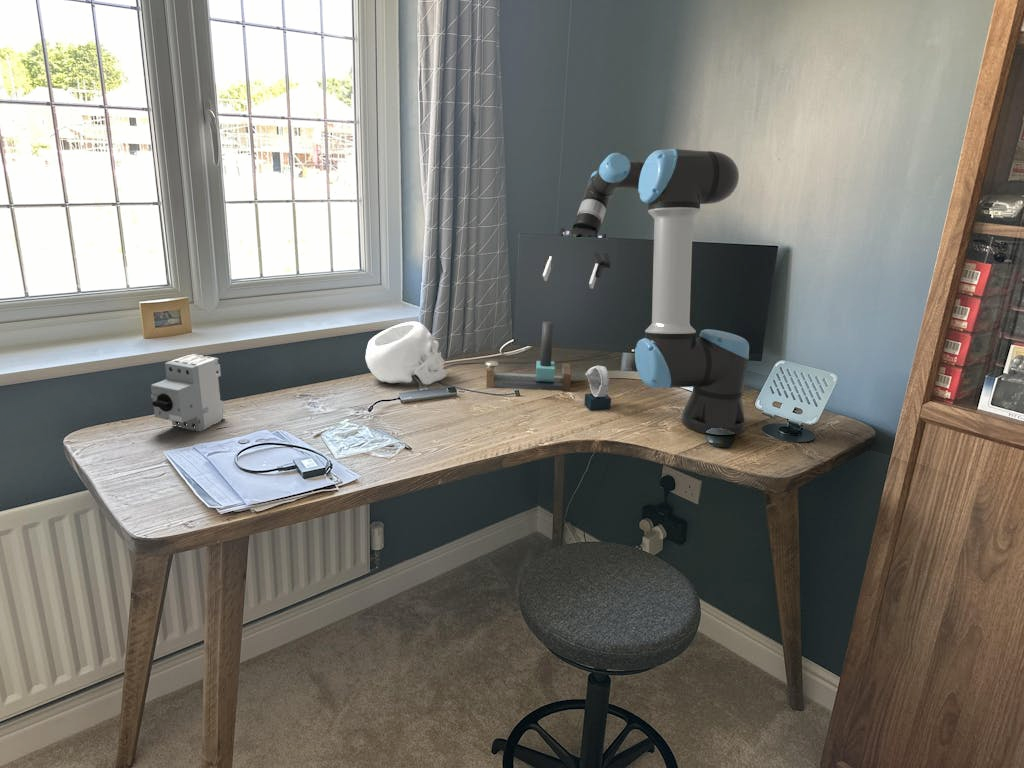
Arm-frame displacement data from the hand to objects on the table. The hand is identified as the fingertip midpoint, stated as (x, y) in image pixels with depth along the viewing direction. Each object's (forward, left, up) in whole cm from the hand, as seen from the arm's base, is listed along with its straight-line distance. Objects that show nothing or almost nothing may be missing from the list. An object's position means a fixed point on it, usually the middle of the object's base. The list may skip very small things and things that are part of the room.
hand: (567, 282), depth 195 cm
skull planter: (-10, +43, -28) cm, 52 cm away
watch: (-23, -9, -28) cm, 37 cm away
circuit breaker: (-50, +85, -28) cm, 103 cm away
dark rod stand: (-7, +5, -26) cm, 27 cm away
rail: (-7, +9, -28) cm, 30 cm away
